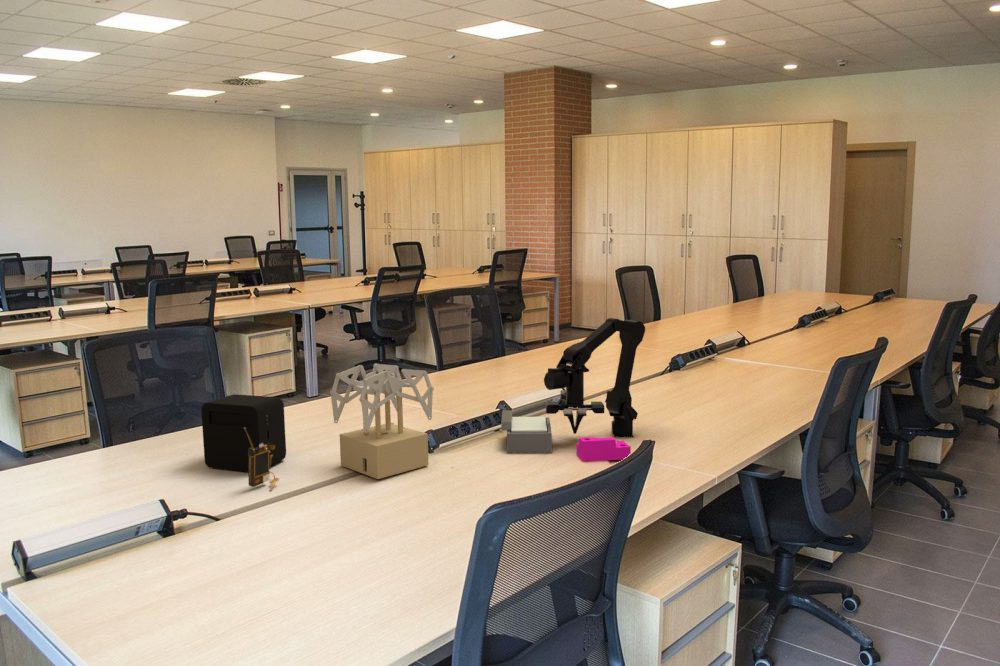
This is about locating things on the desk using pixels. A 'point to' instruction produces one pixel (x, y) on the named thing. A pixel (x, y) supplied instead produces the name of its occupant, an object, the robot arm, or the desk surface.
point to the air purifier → (242, 430)
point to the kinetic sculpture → (387, 443)
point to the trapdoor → (522, 423)
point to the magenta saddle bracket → (601, 449)
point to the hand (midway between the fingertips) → (574, 433)
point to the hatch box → (530, 441)
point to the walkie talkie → (260, 464)
